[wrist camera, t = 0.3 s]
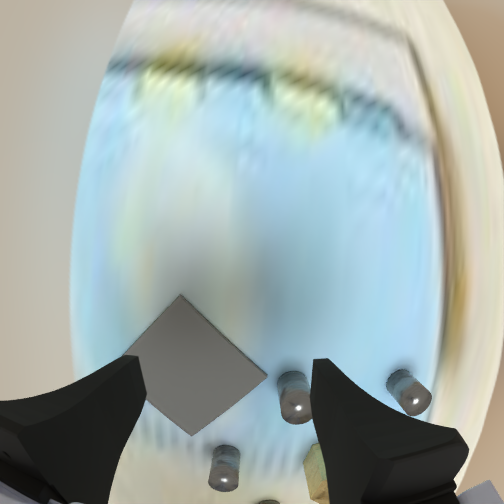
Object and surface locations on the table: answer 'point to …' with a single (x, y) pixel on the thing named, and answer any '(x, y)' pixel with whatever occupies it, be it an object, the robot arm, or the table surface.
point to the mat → (192, 368)
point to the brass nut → (316, 475)
